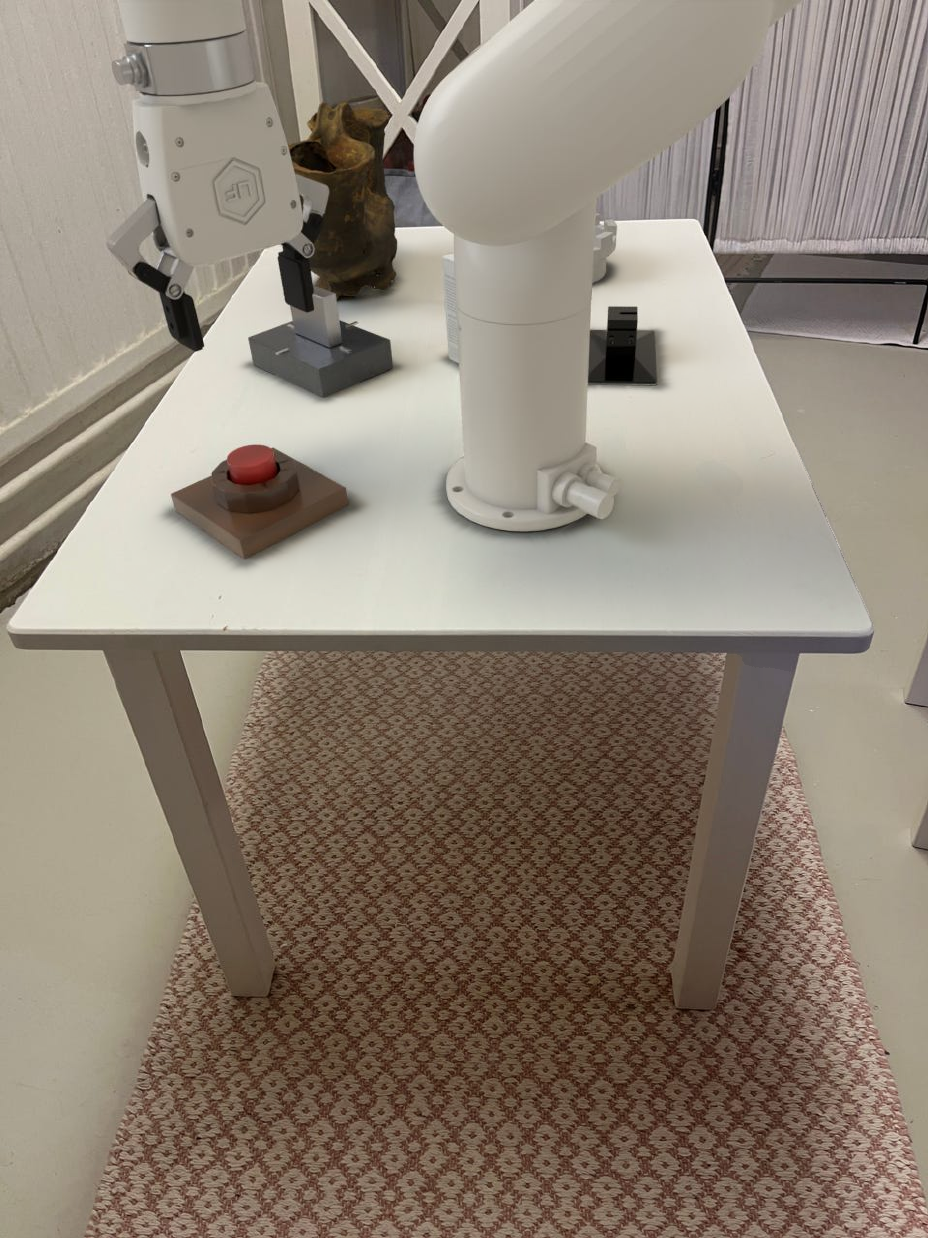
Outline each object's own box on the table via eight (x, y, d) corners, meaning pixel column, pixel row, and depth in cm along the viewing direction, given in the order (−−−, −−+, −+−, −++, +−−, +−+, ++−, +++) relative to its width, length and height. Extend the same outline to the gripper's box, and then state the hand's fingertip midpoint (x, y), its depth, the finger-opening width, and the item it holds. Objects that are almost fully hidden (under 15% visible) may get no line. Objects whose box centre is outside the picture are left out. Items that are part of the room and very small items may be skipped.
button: (286, 473, 73) (282, 454, 71) (248, 492, 71) (243, 472, 70) (260, 458, 75) (256, 439, 74) (222, 476, 73) (217, 456, 72)
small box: (507, 337, 99) (505, 235, 92) (541, 353, 95) (542, 248, 88) (446, 359, 95) (439, 254, 89) (479, 376, 92) (474, 269, 85)
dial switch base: (398, 365, 95) (395, 336, 93) (318, 400, 89) (313, 369, 87) (326, 336, 101) (321, 307, 99) (248, 366, 96) (242, 337, 94)
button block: (348, 505, 74) (343, 467, 72) (244, 560, 69) (235, 520, 67) (276, 464, 80) (269, 427, 78) (175, 511, 75) (164, 474, 73)
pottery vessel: (329, 250, 124) (306, 81, 111) (409, 248, 123) (396, 77, 110) (291, 323, 105) (258, 129, 92) (386, 321, 104) (366, 124, 91)
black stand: (656, 386, 88) (660, 339, 85) (579, 385, 89) (581, 338, 86) (654, 332, 98) (657, 289, 95) (584, 332, 99) (586, 289, 96)
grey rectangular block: (342, 343, 92) (335, 290, 89) (329, 348, 91) (322, 295, 88) (306, 327, 96) (298, 276, 92) (294, 332, 95) (285, 281, 91)
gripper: (92, 98, 53) (168, 377, 64) (336, 52, 62) (367, 305, 73) (41, 85, 58) (120, 347, 69) (275, 44, 66) (313, 283, 77)
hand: (247, 326), depth 71 cm, fingers open, 9 cm apart
